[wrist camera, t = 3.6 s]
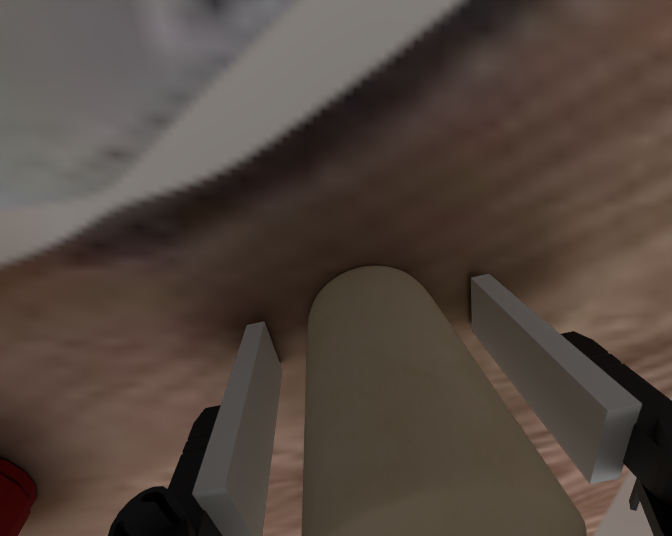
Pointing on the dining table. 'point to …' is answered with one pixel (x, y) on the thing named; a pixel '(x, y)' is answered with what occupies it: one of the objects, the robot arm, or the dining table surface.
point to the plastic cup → (14, 498)
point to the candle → (412, 425)
